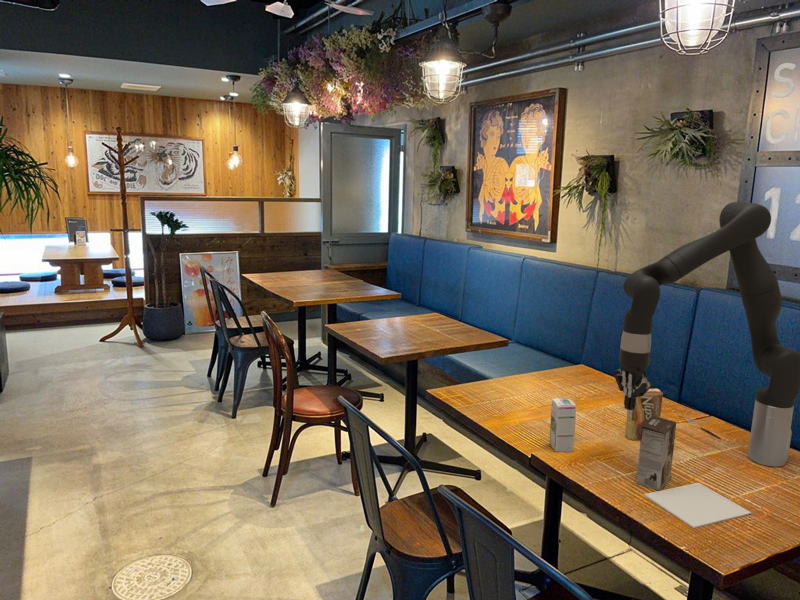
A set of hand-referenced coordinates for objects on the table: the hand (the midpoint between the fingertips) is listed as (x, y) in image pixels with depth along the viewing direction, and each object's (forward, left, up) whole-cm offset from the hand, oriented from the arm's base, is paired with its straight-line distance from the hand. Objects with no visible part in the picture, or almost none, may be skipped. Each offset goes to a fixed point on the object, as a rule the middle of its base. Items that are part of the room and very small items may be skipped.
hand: (629, 408), depth 166 cm
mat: (-1, +24, -16) cm, 29 cm away
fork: (-41, -10, -17) cm, 45 cm away
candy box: (-17, -12, -16) cm, 26 cm away
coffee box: (0, +11, -16) cm, 20 cm away
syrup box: (+11, -14, -16) cm, 24 cm away
